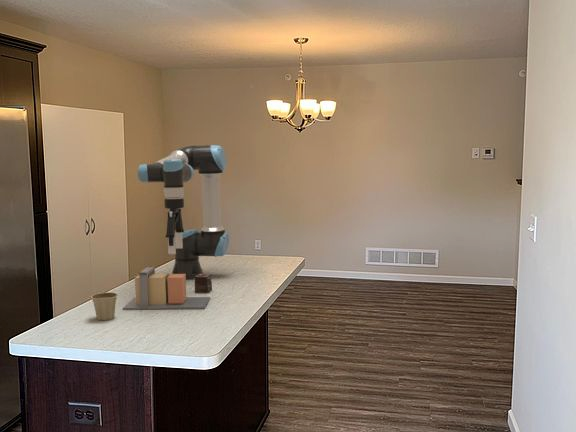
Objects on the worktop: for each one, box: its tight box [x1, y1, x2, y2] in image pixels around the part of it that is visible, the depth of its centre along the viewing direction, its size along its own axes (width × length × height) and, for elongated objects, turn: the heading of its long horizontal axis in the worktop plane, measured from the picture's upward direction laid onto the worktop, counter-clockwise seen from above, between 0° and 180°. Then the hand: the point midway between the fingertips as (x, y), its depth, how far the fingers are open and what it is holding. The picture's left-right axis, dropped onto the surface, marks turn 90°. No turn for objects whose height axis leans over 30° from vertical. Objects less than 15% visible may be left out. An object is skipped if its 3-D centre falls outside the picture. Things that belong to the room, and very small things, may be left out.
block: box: [167, 273, 187, 304], centre depth 224 cm, size 7×6×10 cm
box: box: [194, 273, 213, 294], centre depth 245 cm, size 6×6×7 cm
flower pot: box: [90, 292, 118, 321], centre depth 205 cm, size 9×9×9 cm
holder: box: [122, 266, 211, 311], centre depth 223 cm, size 16×32×14 cm, turn 89°
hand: (175, 251), depth 222 cm, fingers open, 13 cm apart
